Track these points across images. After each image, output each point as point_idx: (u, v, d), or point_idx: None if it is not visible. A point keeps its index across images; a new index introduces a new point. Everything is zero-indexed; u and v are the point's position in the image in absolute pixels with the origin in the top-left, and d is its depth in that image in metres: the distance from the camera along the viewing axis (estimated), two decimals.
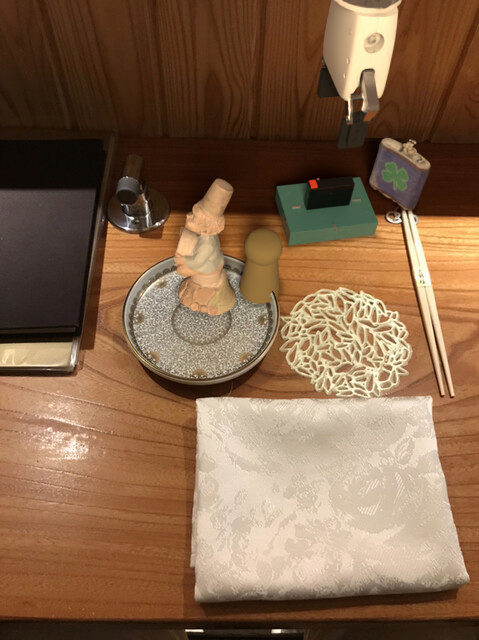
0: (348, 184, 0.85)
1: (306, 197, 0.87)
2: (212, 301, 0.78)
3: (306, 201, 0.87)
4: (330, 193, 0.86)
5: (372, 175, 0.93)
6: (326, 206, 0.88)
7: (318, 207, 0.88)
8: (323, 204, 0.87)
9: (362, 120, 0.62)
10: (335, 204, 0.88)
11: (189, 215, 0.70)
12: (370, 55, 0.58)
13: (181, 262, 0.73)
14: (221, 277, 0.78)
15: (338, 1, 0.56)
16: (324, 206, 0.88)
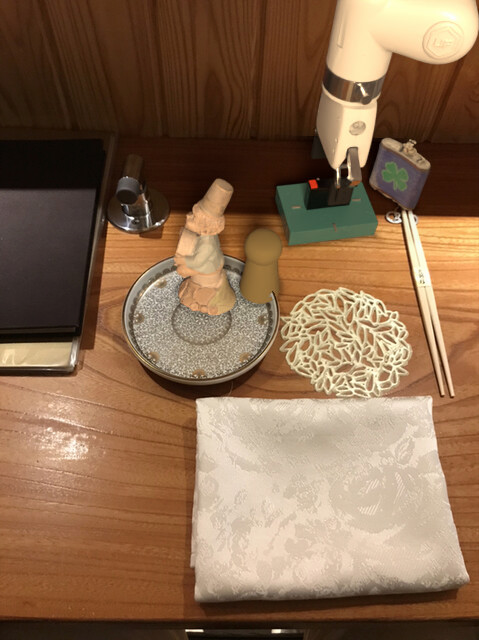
0: None
1: (306, 197, 0.87)
2: (212, 301, 0.78)
3: (306, 201, 0.87)
4: None
5: (372, 175, 0.93)
6: (326, 206, 0.88)
7: (318, 207, 0.88)
8: (323, 204, 0.87)
9: (348, 186, 0.75)
10: None
11: (189, 215, 0.70)
12: (354, 137, 0.72)
13: (181, 262, 0.73)
14: (221, 277, 0.78)
15: (328, 95, 0.69)
16: (324, 206, 0.88)
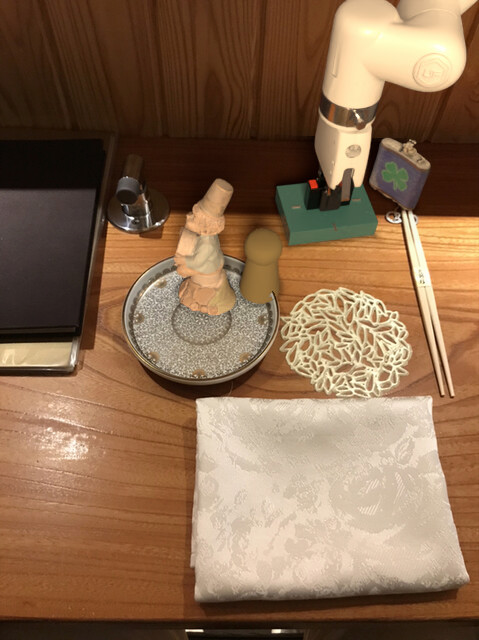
0: None
1: (306, 197, 0.87)
2: (212, 301, 0.78)
3: (306, 201, 0.87)
4: None
5: (372, 175, 0.93)
6: None
7: (318, 207, 0.88)
8: None
9: (336, 195, 0.82)
10: None
11: (189, 215, 0.70)
12: (350, 159, 0.75)
13: (181, 262, 0.73)
14: (221, 277, 0.78)
15: (325, 120, 0.73)
16: None
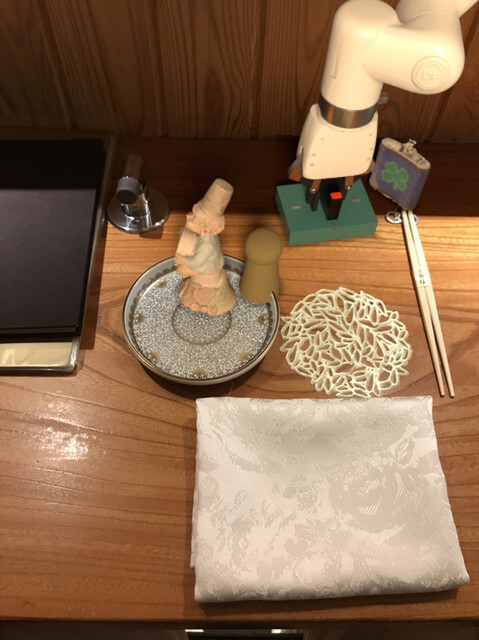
0: None
1: (334, 211, 0.85)
2: (212, 301, 0.78)
3: (335, 214, 0.86)
4: None
5: (372, 175, 0.93)
6: None
7: None
8: None
9: None
10: None
11: (189, 215, 0.70)
12: None
13: (181, 262, 0.73)
14: (221, 277, 0.78)
15: (364, 127, 0.72)
16: None
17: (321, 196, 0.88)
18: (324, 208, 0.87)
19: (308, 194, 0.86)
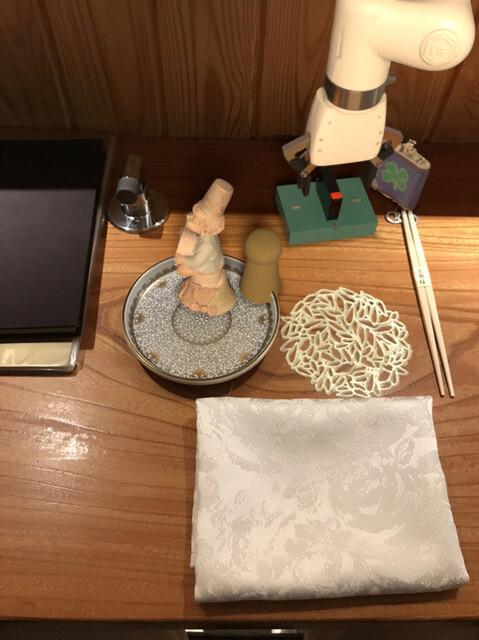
0: (331, 170, 0.86)
1: (334, 211, 0.85)
2: (212, 301, 0.78)
3: (335, 214, 0.86)
4: None
5: None
6: None
7: None
8: None
9: None
10: None
11: (189, 215, 0.70)
12: None
13: (181, 262, 0.73)
14: (221, 277, 0.78)
15: (372, 109, 0.70)
16: None
17: (321, 196, 0.88)
18: (324, 208, 0.87)
19: (299, 178, 0.82)
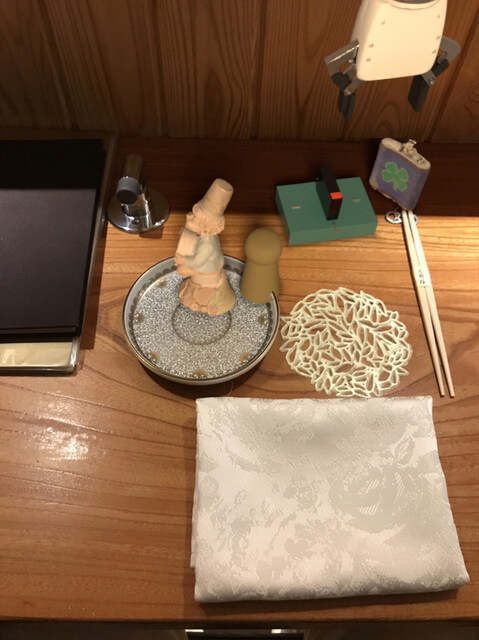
0: (331, 170, 0.86)
1: (334, 211, 0.85)
2: (212, 301, 0.78)
3: (335, 214, 0.86)
4: None
5: (372, 175, 0.93)
6: None
7: None
8: None
9: None
10: None
11: (189, 215, 0.70)
12: None
13: (181, 262, 0.73)
14: (221, 277, 0.78)
15: (434, 3, 0.61)
16: None
17: (321, 196, 0.88)
18: (324, 208, 0.87)
19: (341, 99, 0.73)
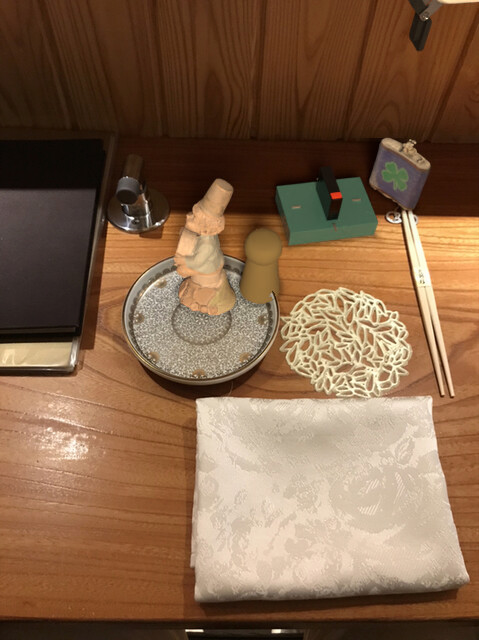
0: (331, 170, 0.86)
1: (334, 211, 0.85)
2: (212, 301, 0.78)
3: (335, 214, 0.86)
4: None
5: (372, 175, 0.93)
6: None
7: None
8: None
9: None
10: None
11: (189, 215, 0.70)
12: None
13: (181, 262, 0.73)
14: (221, 277, 0.78)
15: None
16: None
17: (321, 196, 0.88)
18: (324, 208, 0.87)
19: (415, 26, 0.69)
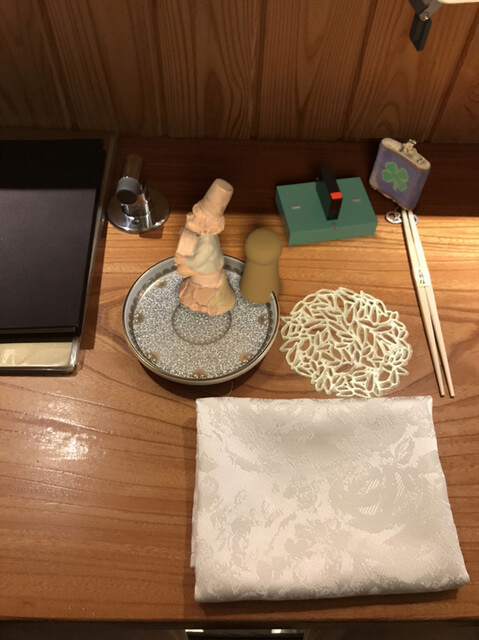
0: (331, 170, 0.86)
1: (334, 211, 0.85)
2: (212, 301, 0.78)
3: (335, 214, 0.86)
4: None
5: (372, 175, 0.93)
6: None
7: None
8: None
9: None
10: None
11: (189, 215, 0.70)
12: None
13: (181, 262, 0.73)
14: (221, 277, 0.78)
15: None
16: None
17: (321, 196, 0.88)
18: (324, 208, 0.87)
19: (415, 26, 0.69)
